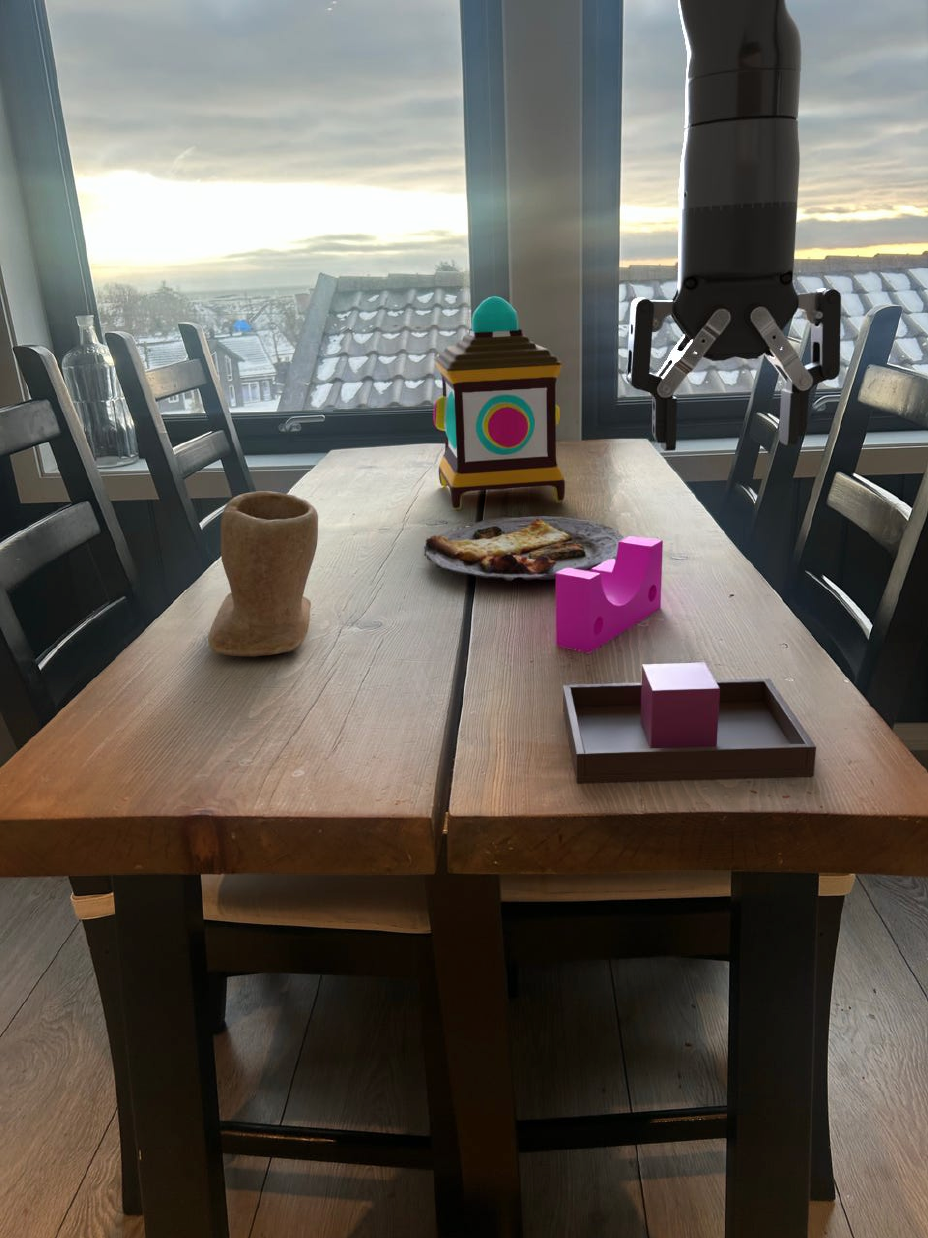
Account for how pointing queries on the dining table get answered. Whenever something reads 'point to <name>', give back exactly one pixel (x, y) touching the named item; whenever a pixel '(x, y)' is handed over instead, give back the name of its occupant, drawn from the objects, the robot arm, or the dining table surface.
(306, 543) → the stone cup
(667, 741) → the cube
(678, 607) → the dining table surface
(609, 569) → the toy block
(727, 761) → the tray
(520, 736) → the dining table surface
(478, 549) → the food plate
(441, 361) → the decorative lantern
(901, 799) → the dining table surface
